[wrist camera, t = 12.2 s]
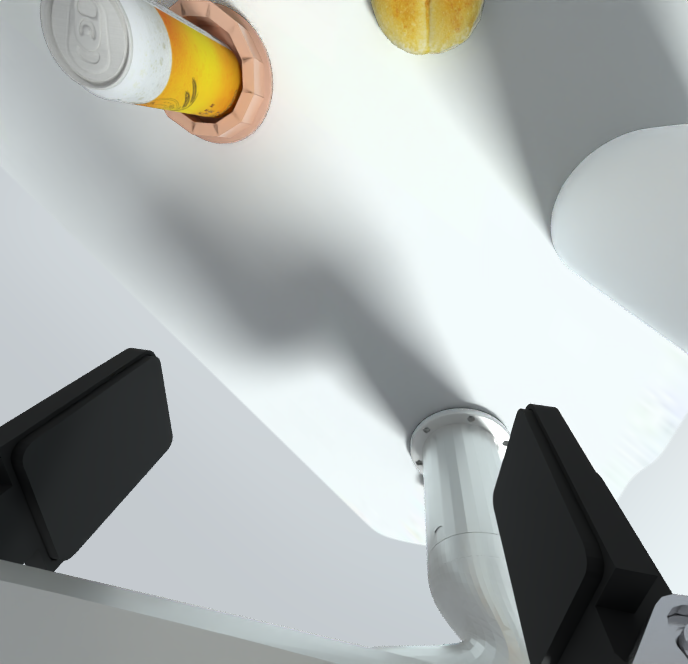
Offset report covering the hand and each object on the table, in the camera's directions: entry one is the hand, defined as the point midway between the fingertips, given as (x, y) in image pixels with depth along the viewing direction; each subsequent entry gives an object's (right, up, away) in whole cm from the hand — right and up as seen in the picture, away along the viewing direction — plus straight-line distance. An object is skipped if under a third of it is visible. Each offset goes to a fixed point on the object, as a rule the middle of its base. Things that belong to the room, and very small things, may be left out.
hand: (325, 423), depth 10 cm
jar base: (-11, +26, +25) cm, 37 cm away
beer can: (-11, +25, +24) cm, 37 cm away
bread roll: (+7, +30, +20) cm, 36 cm away
